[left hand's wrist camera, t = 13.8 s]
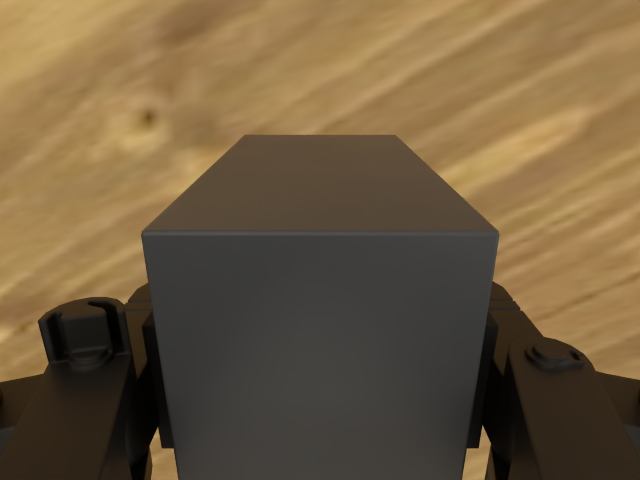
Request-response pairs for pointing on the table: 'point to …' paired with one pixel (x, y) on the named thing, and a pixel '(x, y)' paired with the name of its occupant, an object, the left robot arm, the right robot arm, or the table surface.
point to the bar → (320, 313)
